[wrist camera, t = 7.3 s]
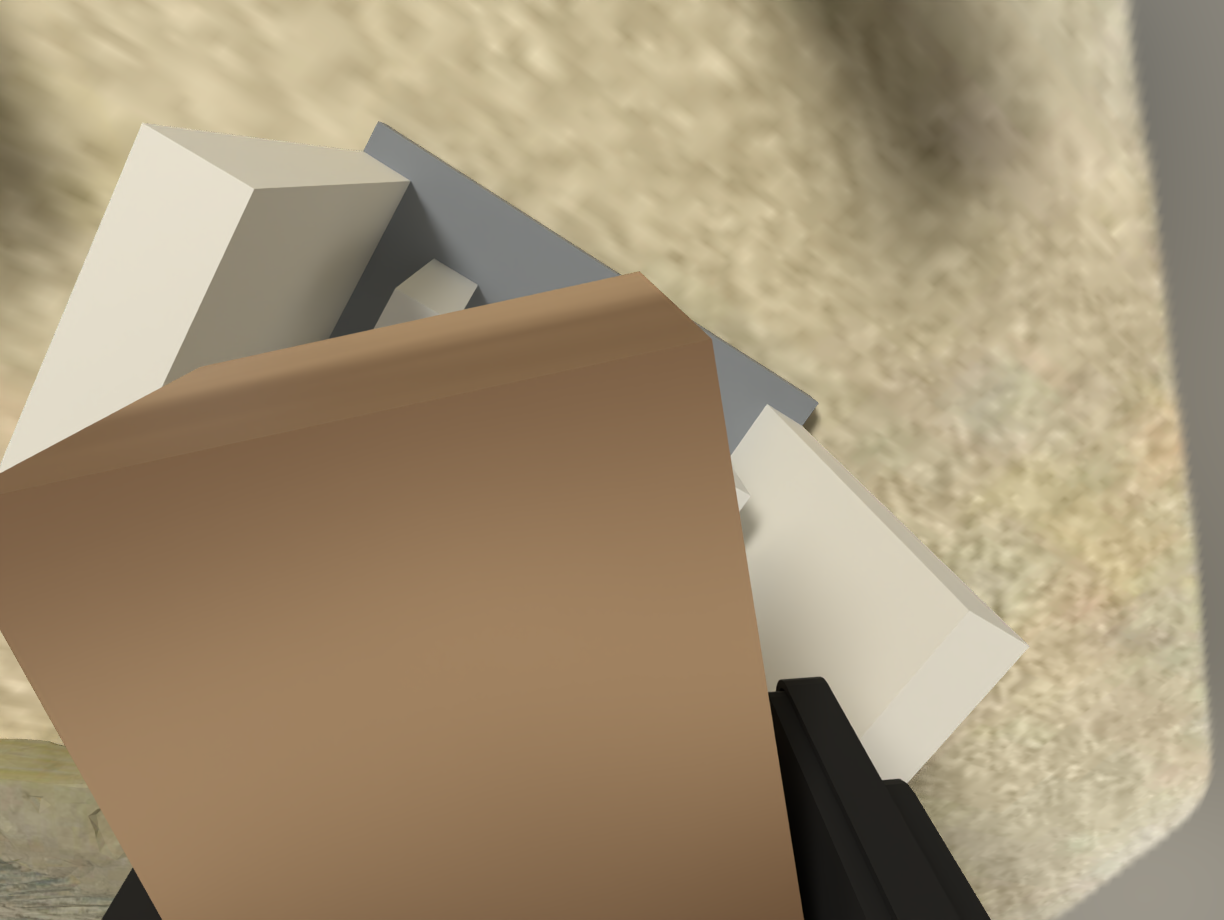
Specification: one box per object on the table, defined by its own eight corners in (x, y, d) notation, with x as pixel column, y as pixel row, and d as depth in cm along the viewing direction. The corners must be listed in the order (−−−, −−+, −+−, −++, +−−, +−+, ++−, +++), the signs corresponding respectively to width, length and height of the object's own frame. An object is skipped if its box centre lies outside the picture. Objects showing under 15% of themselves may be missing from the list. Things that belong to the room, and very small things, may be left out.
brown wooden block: (199, 367, 9) (-69, 509, 5) (639, 270, 9) (711, 339, 5) (478, 1066, 13) (450, 1435, 9) (775, 999, 13) (870, 1338, 9)
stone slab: (-481, 769, 27) (405, 814, 29) (-346, 695, 31) (425, 740, 33) (-374, 1023, 31) (398, 1044, 33) (-267, 929, 35) (416, 953, 37)
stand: (809, 395, 29) (1064, 606, 15) (661, 601, 31) (758, 949, 17) (384, 123, 24) (171, 54, 10) (251, 387, 27) (-65, 620, 13)
